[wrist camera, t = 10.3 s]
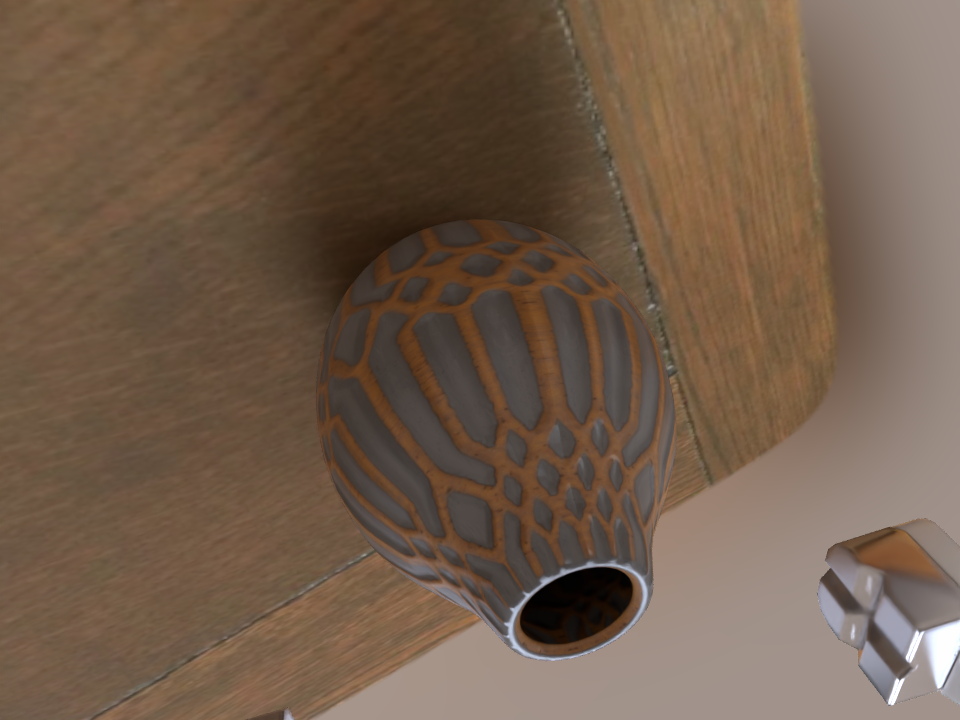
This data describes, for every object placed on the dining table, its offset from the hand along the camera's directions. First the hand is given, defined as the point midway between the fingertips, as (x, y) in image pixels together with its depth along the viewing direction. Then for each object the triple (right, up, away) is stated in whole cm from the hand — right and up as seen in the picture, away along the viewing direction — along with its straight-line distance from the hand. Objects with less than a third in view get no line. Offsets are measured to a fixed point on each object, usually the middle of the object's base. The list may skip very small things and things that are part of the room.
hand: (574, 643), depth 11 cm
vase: (-2, +5, +7) cm, 9 cm away
